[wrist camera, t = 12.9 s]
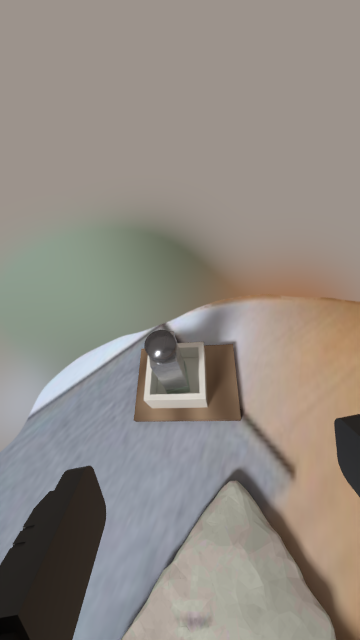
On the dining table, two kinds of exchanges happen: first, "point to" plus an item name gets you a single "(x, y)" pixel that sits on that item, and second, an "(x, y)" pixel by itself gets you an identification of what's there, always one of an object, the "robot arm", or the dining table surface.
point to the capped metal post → (167, 361)
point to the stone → (232, 583)
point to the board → (218, 391)
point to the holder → (196, 376)
